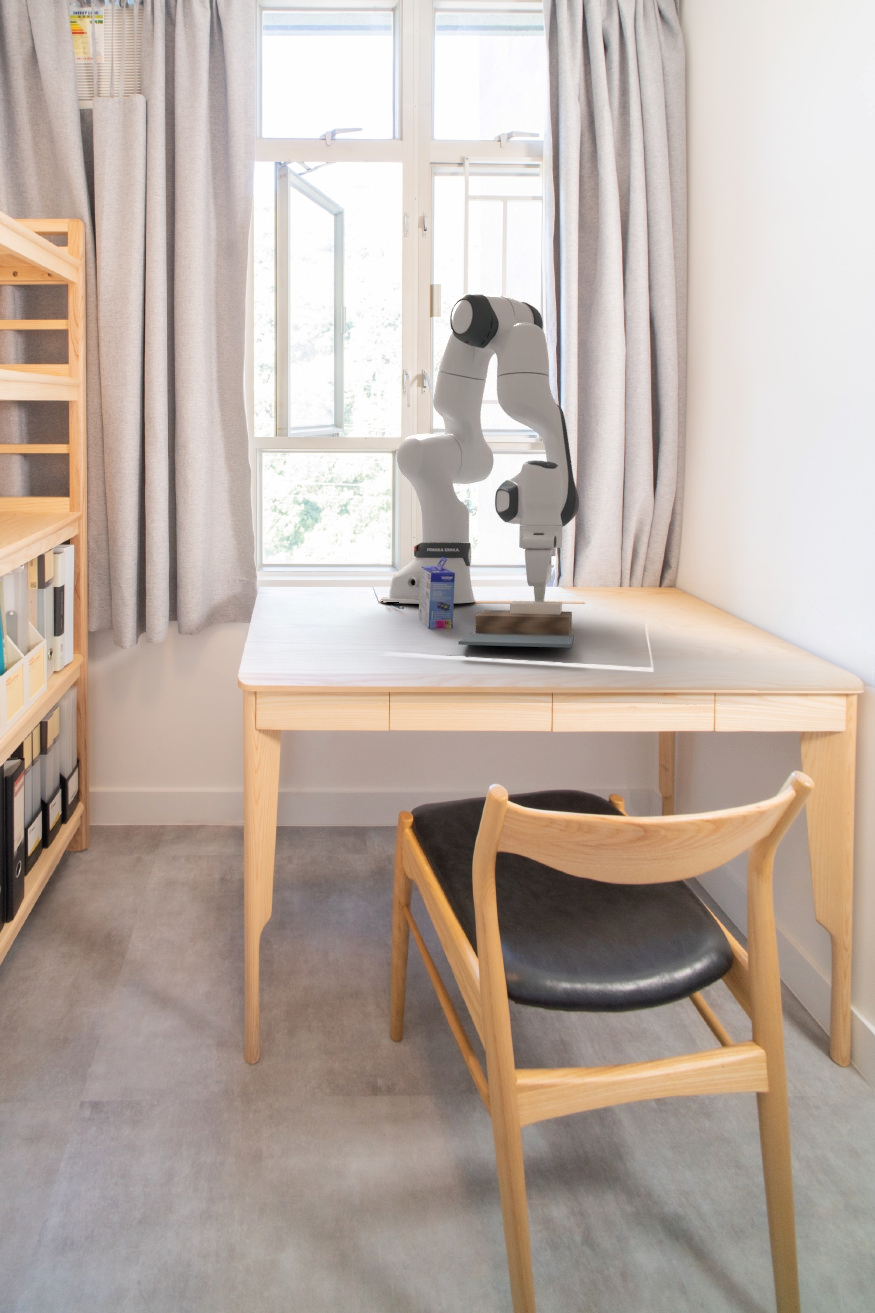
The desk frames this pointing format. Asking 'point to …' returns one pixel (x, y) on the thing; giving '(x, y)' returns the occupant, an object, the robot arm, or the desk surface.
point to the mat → (517, 640)
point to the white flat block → (535, 607)
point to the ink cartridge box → (436, 596)
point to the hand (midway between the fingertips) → (539, 606)
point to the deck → (523, 623)
